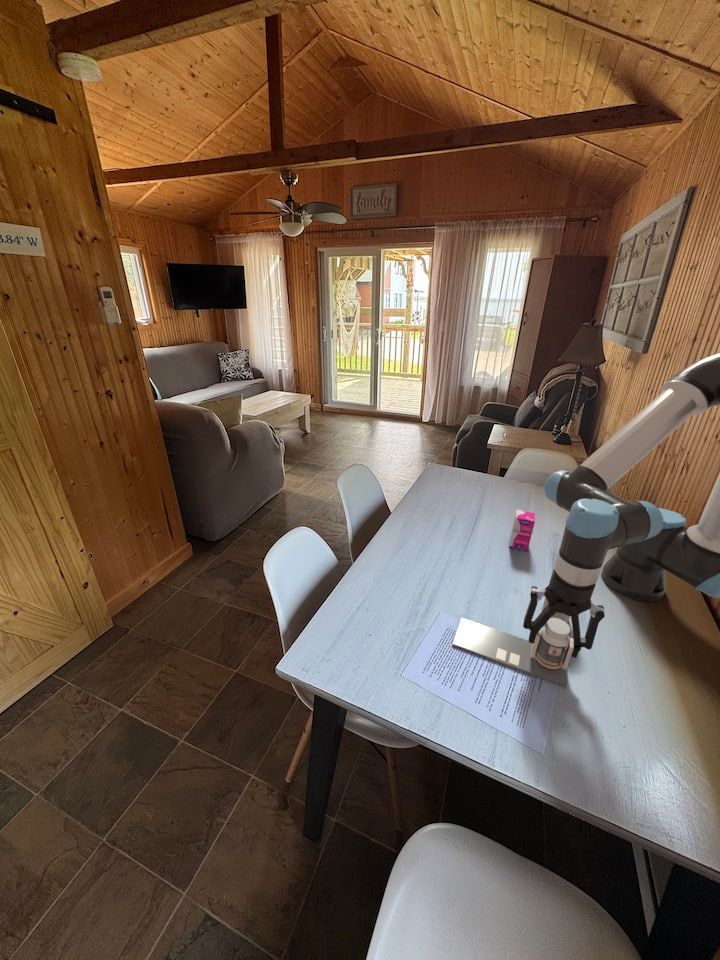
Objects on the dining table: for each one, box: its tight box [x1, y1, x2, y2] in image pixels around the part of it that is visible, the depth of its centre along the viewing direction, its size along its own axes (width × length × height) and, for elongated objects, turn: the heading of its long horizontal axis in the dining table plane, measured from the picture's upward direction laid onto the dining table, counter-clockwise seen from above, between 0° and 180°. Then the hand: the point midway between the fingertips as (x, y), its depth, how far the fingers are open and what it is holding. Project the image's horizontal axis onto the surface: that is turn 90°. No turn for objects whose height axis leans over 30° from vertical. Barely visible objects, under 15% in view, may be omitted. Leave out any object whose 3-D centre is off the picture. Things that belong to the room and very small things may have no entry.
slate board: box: [451, 617, 568, 689], centre depth 90 cm, size 24×9×1 cm, turn 63°
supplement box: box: [508, 509, 536, 552], centre depth 125 cm, size 6×6×12 cm
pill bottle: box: [535, 618, 571, 669], centre depth 84 cm, size 6×6×10 cm
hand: (548, 658), depth 86 cm, fingers closed on pill bottle, 6 cm apart
